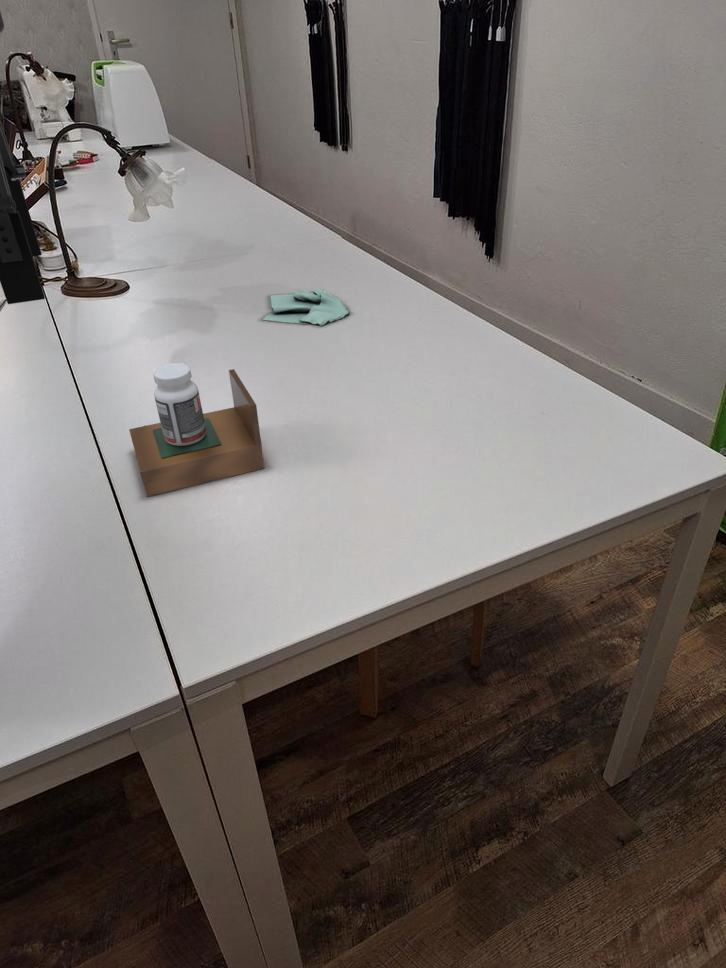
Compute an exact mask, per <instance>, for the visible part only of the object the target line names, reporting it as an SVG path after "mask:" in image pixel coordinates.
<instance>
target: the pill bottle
mask: <svg viewBox="0 0 726 968" xmlns="http://www.w3.org/2000/svg"><path fill="white" fill-rule="evenodd" d="M152 375H153V380H154V381H153V382H154V383H155V384H156V386H155V389H154V390H153V396H154V401H155V406H156V409H157V414H158V418H159V423H161V427H162V431H163V435H164V438H165V440H166V442H168V443H169V444H171V445H175V446H187V445H191V444H194V443H197V442H199V441H200V440H202V439H203V438H204V436H205V434H206V426H205V422H204V416H203V414H204V412H203V407H202V401H201V397H200V392H199V391H200V390H199V388H198V385H197V383H195V382H194V381H193V380H191V379H192V377H193V376H192V371H191V368H190V366H189V365H187V364H186V363H179V362H172V363H165V364H163V365H161V366H158V367H156V368H155V369H154V370H153V373H152Z"/></svg>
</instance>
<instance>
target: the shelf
mask: <svg viewBox="0 0 726 968" xmlns="http://www.w3.org/2000/svg"><path fill="white" fill-rule="evenodd" d="M228 375H229V381H230V389H231V395H232V401H233V402H232V403H233V406H232V407H229V408H223V409H219V410H214V411H209V412H205V413H204V412H203V416H204V422H205V426H206V434H205V436H204V438H203V439H202V440H200V441H199V442H197V443H194V444H191V445H187V446H175V445H171V444H169V443H168V442H166V440H165V438H164V435H163V431H162V427H161V422H157V423H151V424H147V425H143V426H138V427H133V428H129V429H128V430H129V435H130V438H131V442H132V447H133V449H134V454H135V457H136V461H137V466H138V469H139V473H140V476H141V481H142V484H143V488H144V492H145V495H146V497H147V498H148V497H153V496H156V495H161V494H165V493H169V492H173V491H178V490H182V489H186V488H189V487H193V486H198V485H202V484H206V483H211V482H214V481H218V480H223V479H226V478H231V477H235V476H239V475H244V474H248V473H251V472H252V473H253V472H256V471H259V470H264V469H265V461H264V454H263V445H262V439H261V431H260V423H259V416H258V415H259V414H258V408H257V403H256V401H255V400H254V399H253V397H252V395H251V394H250V392H249V391H248V390H247V387H246V386H245V385H244V382H243V381H242V380H241V378H240V377H239V375H238V373H237V371H236V370H235V369H234V368H232V369H229V370H228Z"/></svg>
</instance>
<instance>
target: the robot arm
mask: <svg viewBox="0 0 726 968" xmlns="http://www.w3.org/2000/svg"><path fill="white" fill-rule="evenodd" d="M4 29H5V23H4V20H3V15H2V12H1V11H0V34H1V33H2V32H3V31H4ZM2 118H3V113H2V109H1V108H0V285H1V289H2V292H3V294H4V297H5V300H6V303H7V305H14V304H20V303H27V302H35V301H42V300H45V299H46V296H45V293H44V290H43V286H42V282H41V280H40V276H39V273H38V270H37V266H36V263H35V260H34V257H40V256H42V249H41V247H40V244H39V241H38V237H37V234H36V231H35V227H34V224H33V221H32V217H31V213H30V210H29V207H28V206H29V205H28V204H27V200H26V196H25V193H24V191H23V190H24V189H23V187H22V183H21V180H20V179H23V178H24V179H25V178H27V174H26V169H25V166H24V164H16V163H17V162H16V158H15V157H14V156H13V154H12V151H11V148H10V145H9V142H8V138H7V136H6V133H5V129H4V126H3V124H2V121H1V120H2Z"/></svg>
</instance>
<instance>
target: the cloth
mask: <svg viewBox="0 0 726 968" xmlns="http://www.w3.org/2000/svg"><path fill="white" fill-rule="evenodd" d="M270 305H271V309H272V311H271V312H270V313H269V314H268V315H266V316H264V317H263V318H262V321H267V322H278V323H284V324H285V323H286V324H297V325H307V324H311V325H319V326H320V327H323V326H325V325H327V324H331V323H333V322H335V321H339V320H342V319H344V317H345V316H348V315H349V314H350V311H348V310H347V307H345V304H344V303H343V301H342V300H340V298H338V297H337V296H335V295H334V294H333V293H330V292H329V291H327V290H325V289H322V288H320V287H319V288H318V287H317V288H315V289H314V290H312V292H311V291H309V290H302V291H301V290H300V289H298V290H297V291H296V292H295V293H290V294H273V295H270Z"/></svg>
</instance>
